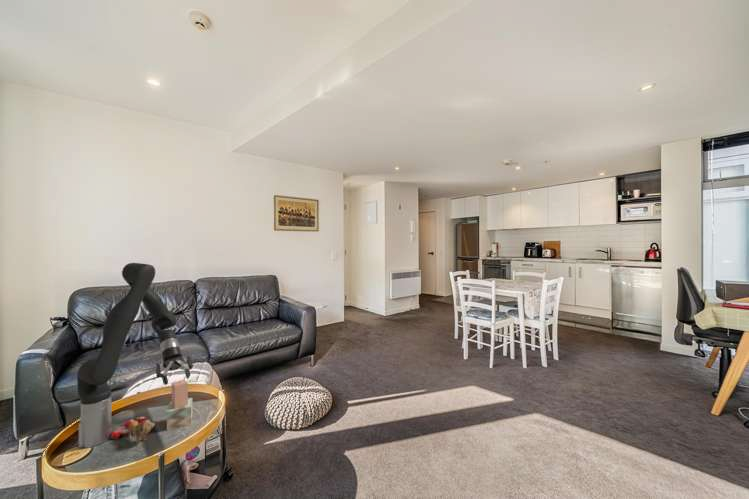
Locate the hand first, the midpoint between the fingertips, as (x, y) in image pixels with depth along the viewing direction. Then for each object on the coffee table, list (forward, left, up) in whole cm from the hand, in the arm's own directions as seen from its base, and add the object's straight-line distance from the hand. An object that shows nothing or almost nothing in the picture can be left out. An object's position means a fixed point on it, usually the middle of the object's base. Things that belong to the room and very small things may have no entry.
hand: (177, 380), depth 137 cm
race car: (-17, 0, -18) cm, 25 cm away
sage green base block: (+1, -3, -18) cm, 18 cm away
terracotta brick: (+1, -3, -10) cm, 10 cm away
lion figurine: (-13, -10, -18) cm, 24 cm away
